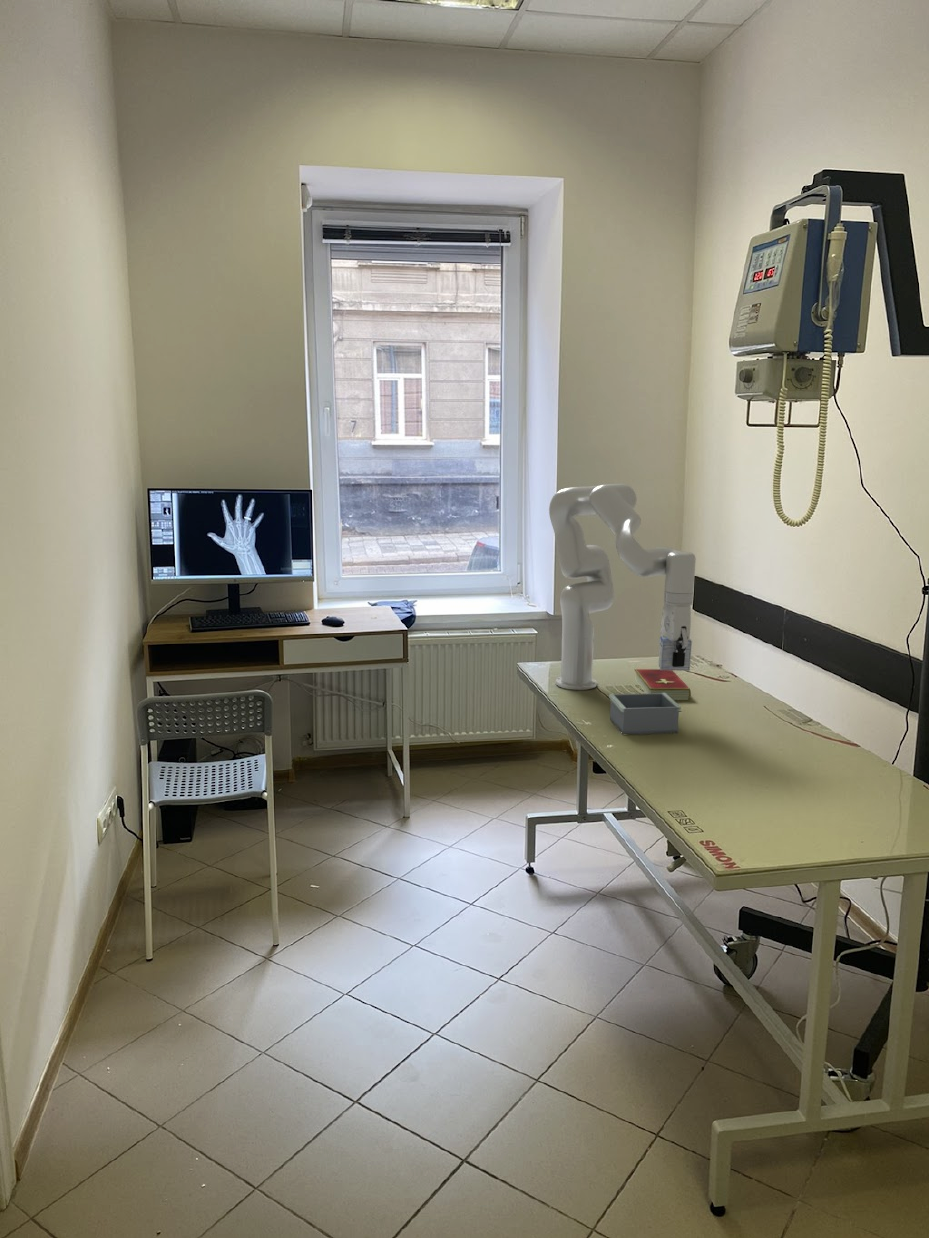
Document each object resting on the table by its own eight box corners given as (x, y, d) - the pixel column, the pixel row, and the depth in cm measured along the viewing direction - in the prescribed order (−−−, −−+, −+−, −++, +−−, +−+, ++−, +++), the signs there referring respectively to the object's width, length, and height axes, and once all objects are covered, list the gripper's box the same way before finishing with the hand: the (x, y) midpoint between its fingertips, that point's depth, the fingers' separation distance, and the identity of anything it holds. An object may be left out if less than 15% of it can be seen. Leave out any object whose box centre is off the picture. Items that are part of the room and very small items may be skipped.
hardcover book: (671, 681, 286) (672, 668, 285) (690, 701, 266) (691, 687, 265) (634, 681, 286) (634, 668, 285) (649, 701, 265) (650, 687, 265)
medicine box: (687, 667, 250) (689, 636, 248) (690, 671, 246) (692, 640, 244) (658, 666, 251) (660, 635, 249) (660, 670, 246) (662, 639, 244)
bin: (608, 719, 248) (609, 694, 247) (663, 717, 250) (665, 692, 248) (621, 734, 236) (622, 708, 234) (679, 733, 238) (680, 707, 236)
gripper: (654, 592, 251) (650, 655, 255) (676, 604, 235) (672, 672, 239) (680, 591, 253) (675, 655, 257) (704, 604, 236) (699, 671, 240)
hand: (674, 662), depth 248 cm, fingers closed on medicine box, 5 cm apart
